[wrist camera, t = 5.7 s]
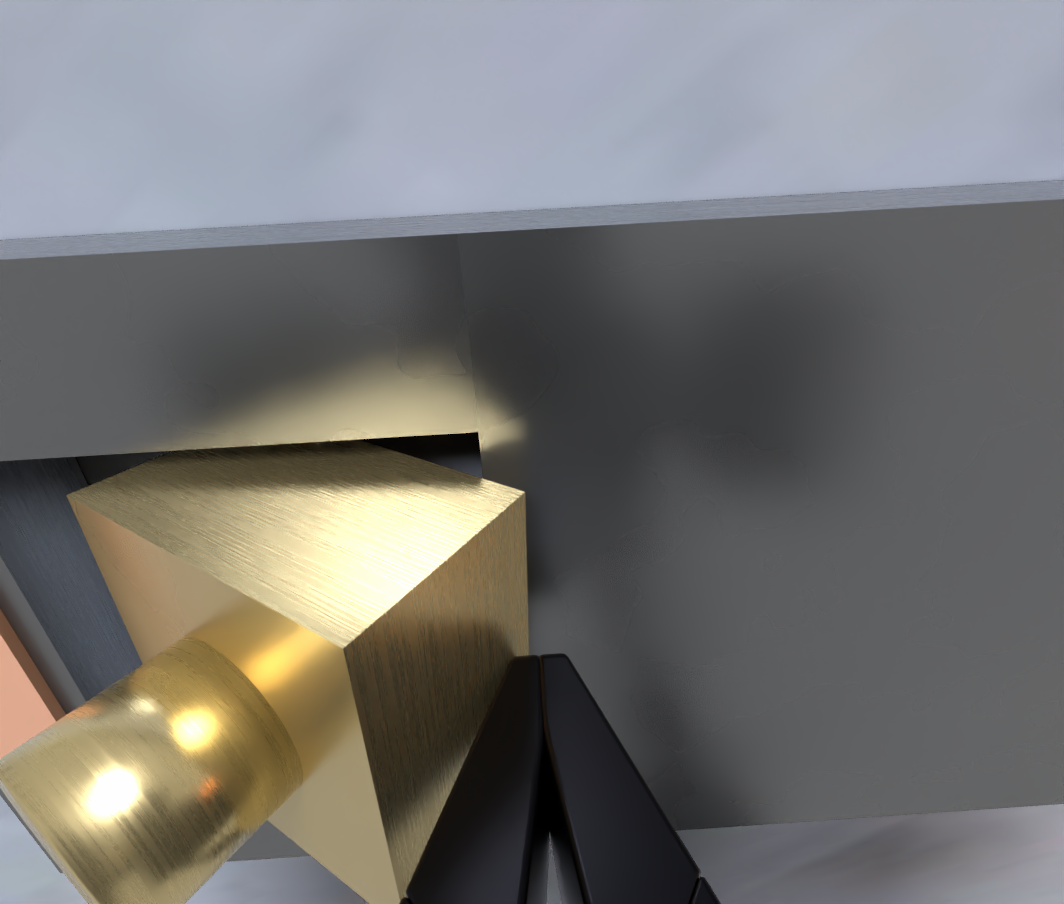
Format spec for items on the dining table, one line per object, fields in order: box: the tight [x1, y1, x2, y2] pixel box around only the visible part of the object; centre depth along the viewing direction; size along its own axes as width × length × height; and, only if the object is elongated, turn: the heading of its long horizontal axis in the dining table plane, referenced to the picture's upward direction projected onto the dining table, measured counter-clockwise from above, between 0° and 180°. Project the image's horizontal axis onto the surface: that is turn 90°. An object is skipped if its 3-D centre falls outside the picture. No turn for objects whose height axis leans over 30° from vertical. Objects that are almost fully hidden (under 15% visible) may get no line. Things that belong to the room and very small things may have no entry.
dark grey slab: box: [0, 180, 1064, 873], centre depth 10 cm, size 12×24×2 cm, turn 93°
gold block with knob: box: [0, 439, 529, 904], centre depth 8 cm, size 5×5×5 cm
